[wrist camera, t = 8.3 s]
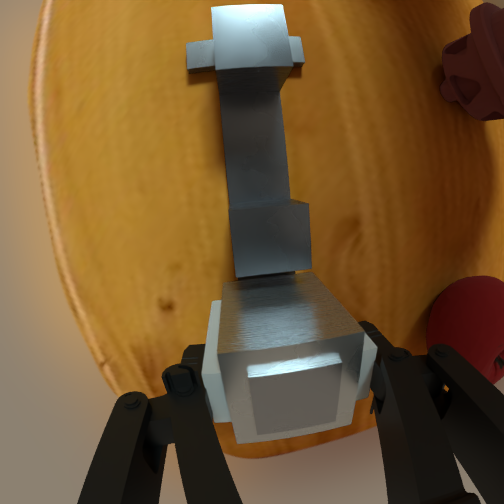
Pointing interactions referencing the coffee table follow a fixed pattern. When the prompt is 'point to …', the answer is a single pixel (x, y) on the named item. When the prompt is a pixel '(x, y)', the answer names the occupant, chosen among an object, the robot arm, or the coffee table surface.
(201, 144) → the coffee table surface
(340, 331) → the block
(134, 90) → the coffee table surface
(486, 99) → the mechanical component
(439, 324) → the apple
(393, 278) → the coffee table surface
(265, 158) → the rail
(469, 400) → the robot arm
